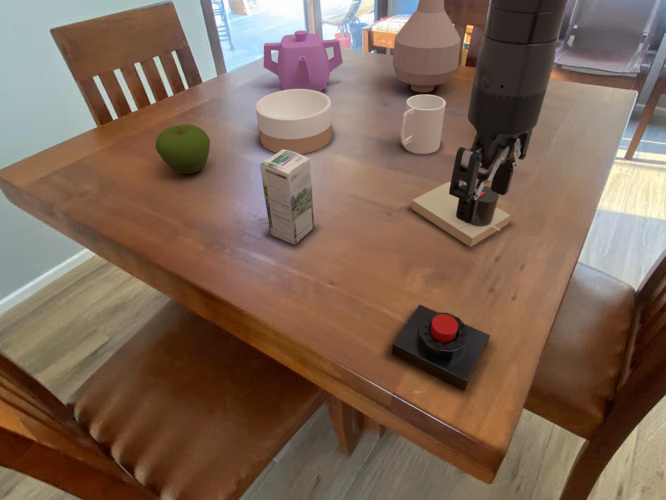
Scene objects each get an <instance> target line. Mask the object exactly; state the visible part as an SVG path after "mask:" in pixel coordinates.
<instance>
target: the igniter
mask: <svg viewBox="0 0 666 500" xmlns="http://www.w3.org/2000/svg"><path fill="white" fill-rule="evenodd" d="M440 314H446V315H450V316H452V317H453V318H454V319H455V320H456V321H457V323H458V330H457V334H456V337H455V339H454V340H453V341H451V342H448V343H442V342H439V341H437V340H435V339H434V338H433V337H432V335H431V332H430V329H431V324H432V320H433V318H434V317H435V316H437V315H440ZM490 337H491V335H490V334H489V333H487V332H483V331H482V330H479V329H478V328H475V327H473V326H470V325H468V324H466V323H464V321H463V320H462V319H461V318H460V317H459V316H456V315H454V314H452V313H449V312H445V311H443V312H441V311H437V310H433V309H431V308H430V307H426V306H424V305H422V304H418V306H417V307H416V308H415V310H414V311H413V313H412V314H411V316H410V317H409V319H408V320H407V322H406V323H405V325H404V326H403V327H402V329H401V331H400V332H399V334H398V336H397V337H396V338H395V339H394V341H393V342H392V346H391V347H392V349H391V355H392V356H395V357H397V358H399V359H401V360H402V361H405V362H407V363H408V364H411V365H413V366H414V367H416V368H419V369H421V370H422V371H425V372H427V373H428V374H431V375H432V376H434V377H436V378H438V379H440V380H442V381H444V382H445V383H448V384H450V385H452V386H454V387H456V388H458V389H460V390H462V391H466V389H467V387H468V385H469V383H470V381H471V379H472V377H473V375H474V372H475V371H476V369H477V367H478V364H479V362H480V360H481V358H482V356H483V354H484V352H485V350H486V348H487V346H488V343H489V340H490Z"/></svg>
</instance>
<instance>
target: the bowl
mask: <svg viewBox="0 0 666 500" xmlns="http://www.w3.org/2000/svg"><path fill="white" fill-rule="evenodd" d="M255 113H256V114H255V115H256V121H257V127H258V132H259V138H260V139H259V140H260V143H261V144H262V146H263V147H264V148H265V149H266V150H268V151H270V152H273V153H275V154H277V153H278V152H280V151H281V150H282V149H284V150H289V151H292V152H295V153H298V154H300V155H303V154H308V153H309V154H310V153H312V152H316V151H319V150H321V149H324V147H326V146H328V144H330V142H331V141H332V139H333V121H332V120H333V119H332V118H333V115H332V113H333V111H332V101H331V98H330V97H329V96H328V95H327V94H325V93H323V92H318V91H314V90H308V89H289V90H284V89H282V90H278V91H274V92H271V93H269V94H266V95H264V96H263V97H261V98H260V99H259V100H258V101H257V102H256V104H255Z"/></svg>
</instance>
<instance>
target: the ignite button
mask: <svg viewBox="0 0 666 500" xmlns="http://www.w3.org/2000/svg"><path fill="white" fill-rule="evenodd" d="M457 330H458V323H457V321H456V320H455V319H454V318H453V317H452V316H450V315H446V314H440V315H437V316H435V317H434V318H433V320H432V324H431V329H430V332H431V335H432V337H433V338H434V339H435V340H437V341H439V342H442V343H448V342H451V341H453V340H454V339H455V337H456V334H457Z"/></svg>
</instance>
